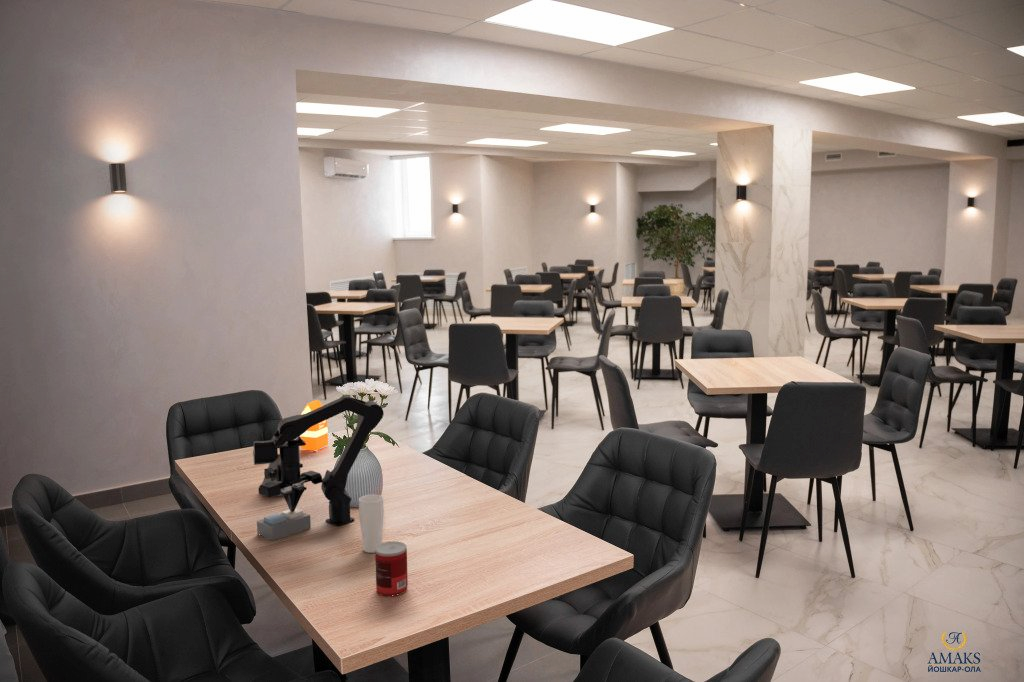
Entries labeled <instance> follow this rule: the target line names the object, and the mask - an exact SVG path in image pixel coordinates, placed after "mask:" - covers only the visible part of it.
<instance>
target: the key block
mask: <svg viewBox="0 0 1024 682" xmlns="http://www.w3.org/2000/svg"><path fill="white" fill-rule="evenodd" d="M280 514H281V515H282V512H281V513H280ZM311 528H312V525H311V514H308V513H306V512H303V516H300V517H297V518H294V519H287V518H286V521H284V522H281V523H278V524H275V525H270V524H268V523H265V522H264V518H262V519H260V520H257V521H256V532H257V535H258V534H260V535H262V536H261V537H263V536H264V537H263V538H265V537H266V538H265V539H267V538H269V539H268V540H270V539H271V540H270V541H272V540H274V541H277V540H279V538H280V539H283V538H285V537H288V536H292V535H294V534H298V533H299V532H303V531H306V530H309V529H311ZM260 535H259V536H260ZM282 537H283V538H282ZM276 539H277V540H276Z"/></svg>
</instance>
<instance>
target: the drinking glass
mask: <svg viewBox="0 0 1024 682" xmlns="http://www.w3.org/2000/svg"><path fill="white" fill-rule="evenodd" d="M384 513H385V506H384V496H382V495H380V494H373V493H372V494H365V495H362V496H360V497H359V498H358V515H359V516H358V517H359V523H360V531H361V532H360V533H361V541H362V550H363V552H365V553H368V554H375V548H376V547H377V546H378V545H380V544H382V543H383V530H384V529H383V528H384V517H385V515H384Z"/></svg>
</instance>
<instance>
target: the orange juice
mask: <svg viewBox="0 0 1024 682" xmlns="http://www.w3.org/2000/svg"><path fill="white" fill-rule="evenodd" d="M321 406H323V405H322V403H321V401H320V400H319V399H316V400H313V401H311V402H308V403H306V406H305V407H304V409H303V410H302V412H301V413H300V415H302V414H306V413H308V412H310V411H312V410H315V409H317V408H319V407H321ZM328 432H329V431H328V419H327V420H325V421H323V422H320V423H318V424H316V425H314V426H312V427H310V428H309V429H308V430H307V431H306V432H304V433H303V434H302V435H300V438H301V439H302V440H304V441H305V443H306V445H305V446H300V450H301V449H306V450H318V449H320V448H322V447H324V446H326V445H328V446H329V438H328V437H329V435H328Z"/></svg>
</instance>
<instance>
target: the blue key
mask: <svg viewBox="0 0 1024 682" xmlns="http://www.w3.org/2000/svg"><path fill="white" fill-rule="evenodd" d="M263 519H264V522H265V523H268V524H270V525H275V524H278V523H281V522H284V521H286V516H283V515H281V513H279V512H275V513H273V514H269V515H266V516H264V517H263Z"/></svg>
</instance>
